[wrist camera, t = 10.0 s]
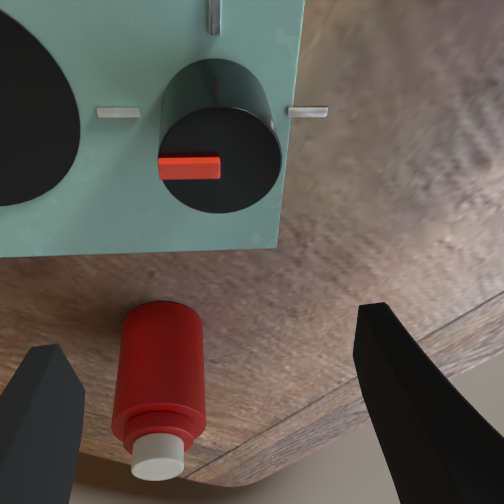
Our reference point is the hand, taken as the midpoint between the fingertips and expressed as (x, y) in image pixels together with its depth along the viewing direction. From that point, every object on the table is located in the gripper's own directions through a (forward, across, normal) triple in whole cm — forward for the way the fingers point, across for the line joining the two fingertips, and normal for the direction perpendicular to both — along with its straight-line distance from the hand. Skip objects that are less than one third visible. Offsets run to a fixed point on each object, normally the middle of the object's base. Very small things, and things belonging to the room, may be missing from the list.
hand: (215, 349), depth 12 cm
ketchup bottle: (+10, +4, +11) cm, 16 cm away
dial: (+8, -1, -2) cm, 8 cm away
